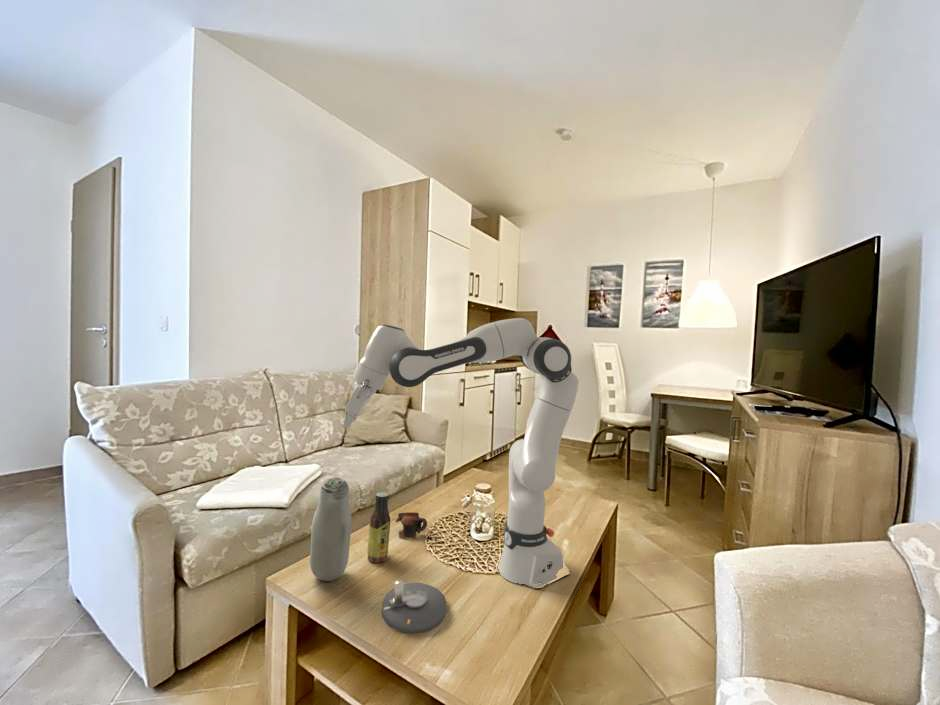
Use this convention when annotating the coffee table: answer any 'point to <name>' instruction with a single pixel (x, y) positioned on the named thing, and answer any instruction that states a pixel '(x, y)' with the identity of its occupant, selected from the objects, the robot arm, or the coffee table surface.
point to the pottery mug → (411, 524)
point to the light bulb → (407, 597)
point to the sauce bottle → (379, 529)
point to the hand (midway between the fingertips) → (349, 423)
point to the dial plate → (415, 611)
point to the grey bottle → (331, 531)
